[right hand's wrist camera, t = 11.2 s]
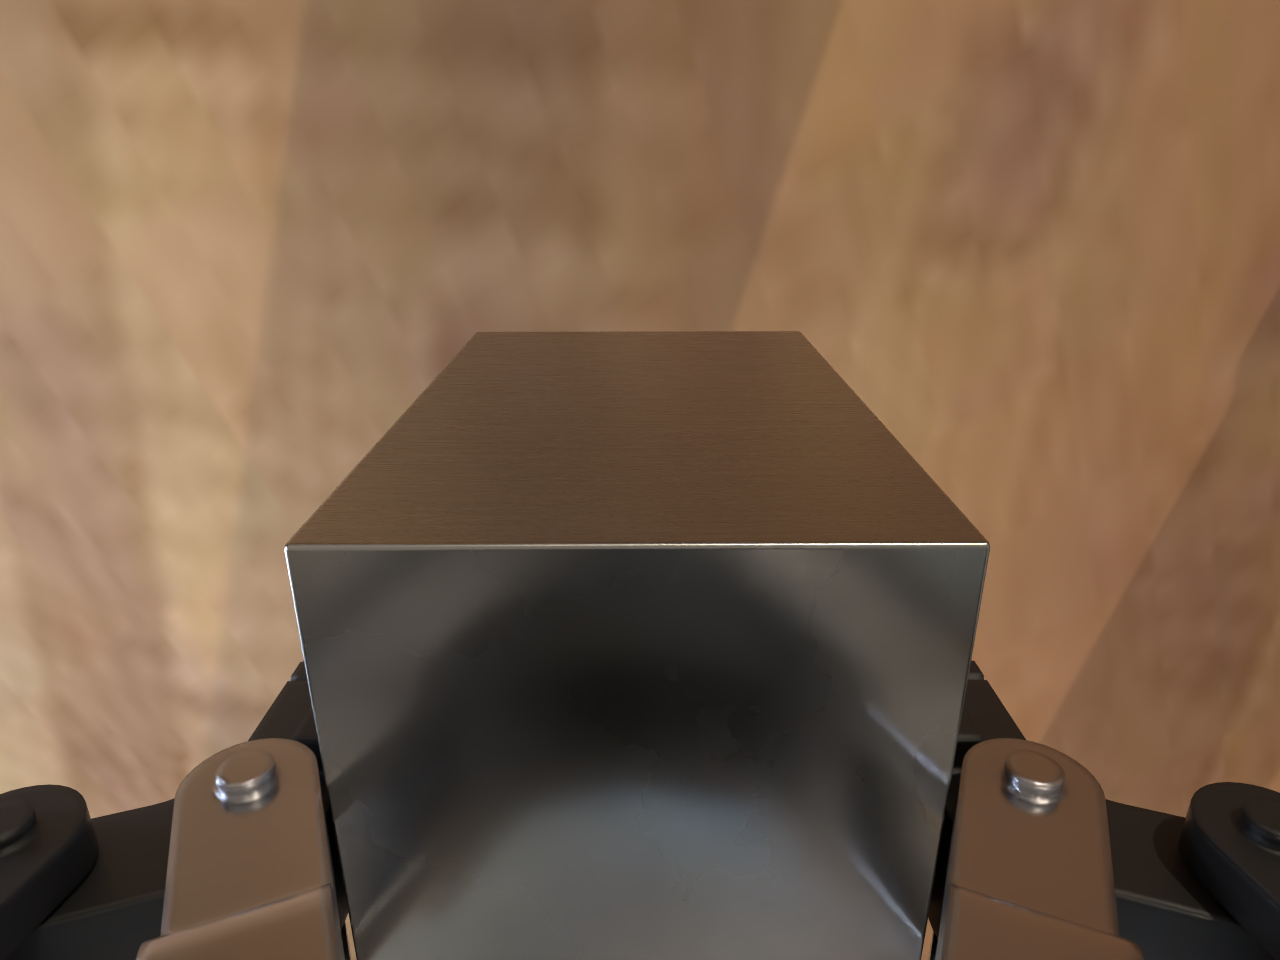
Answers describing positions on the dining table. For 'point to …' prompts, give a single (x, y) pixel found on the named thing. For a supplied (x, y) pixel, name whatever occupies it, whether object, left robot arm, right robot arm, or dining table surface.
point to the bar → (638, 658)
